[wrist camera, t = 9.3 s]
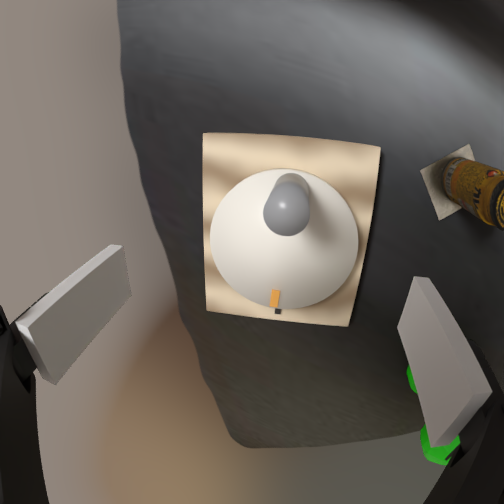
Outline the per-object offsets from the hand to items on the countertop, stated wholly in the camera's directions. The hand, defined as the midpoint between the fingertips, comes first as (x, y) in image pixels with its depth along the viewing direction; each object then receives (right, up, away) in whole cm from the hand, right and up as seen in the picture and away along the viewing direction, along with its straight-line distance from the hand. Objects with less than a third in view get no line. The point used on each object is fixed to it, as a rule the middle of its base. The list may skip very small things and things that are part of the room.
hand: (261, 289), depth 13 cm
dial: (+3, +3, +23) cm, 23 cm away
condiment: (+25, +11, +18) cm, 33 cm away
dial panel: (+4, +4, +25) cm, 25 cm away
